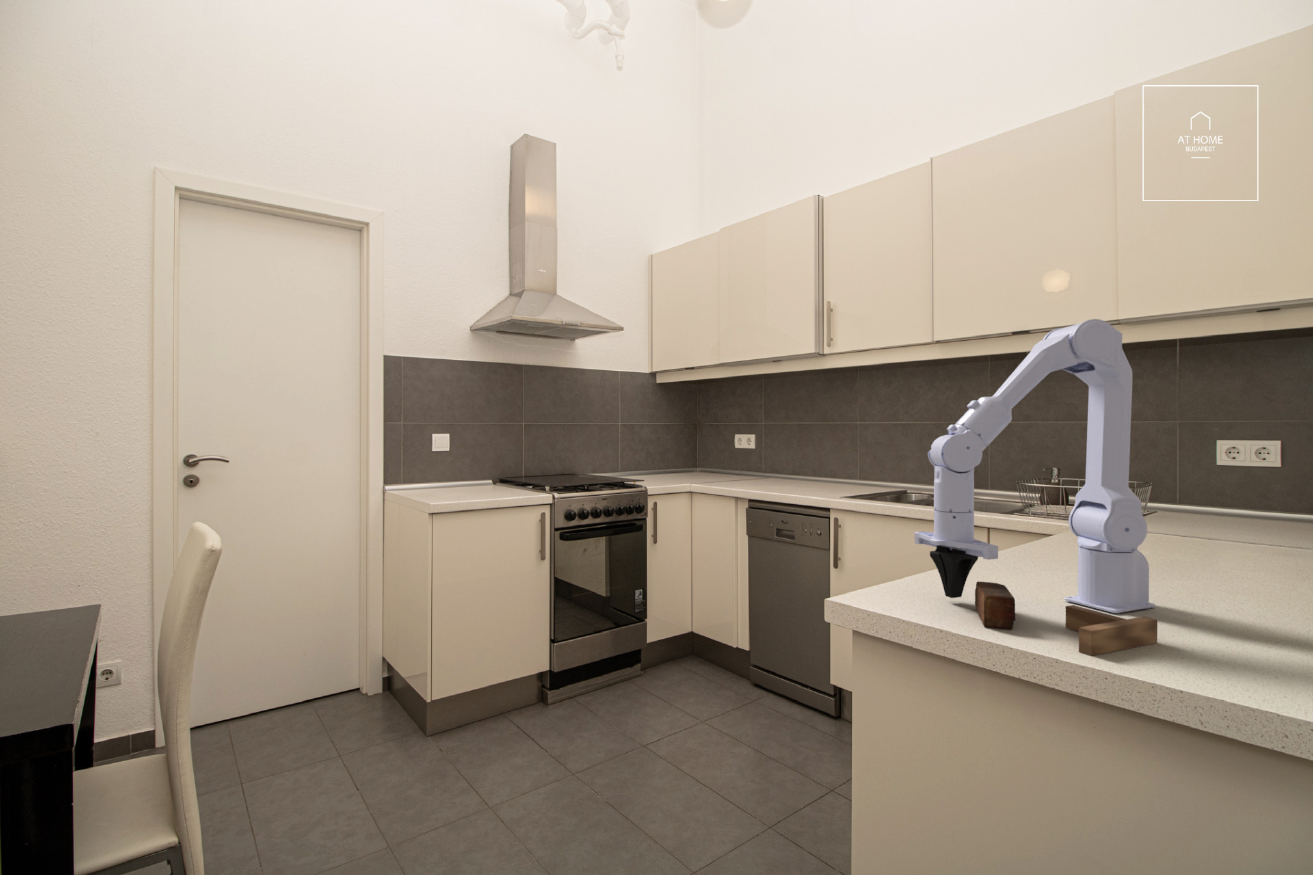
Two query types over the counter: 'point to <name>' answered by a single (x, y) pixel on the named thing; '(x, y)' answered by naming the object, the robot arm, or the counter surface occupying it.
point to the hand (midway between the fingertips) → (953, 596)
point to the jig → (1109, 630)
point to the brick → (995, 605)
